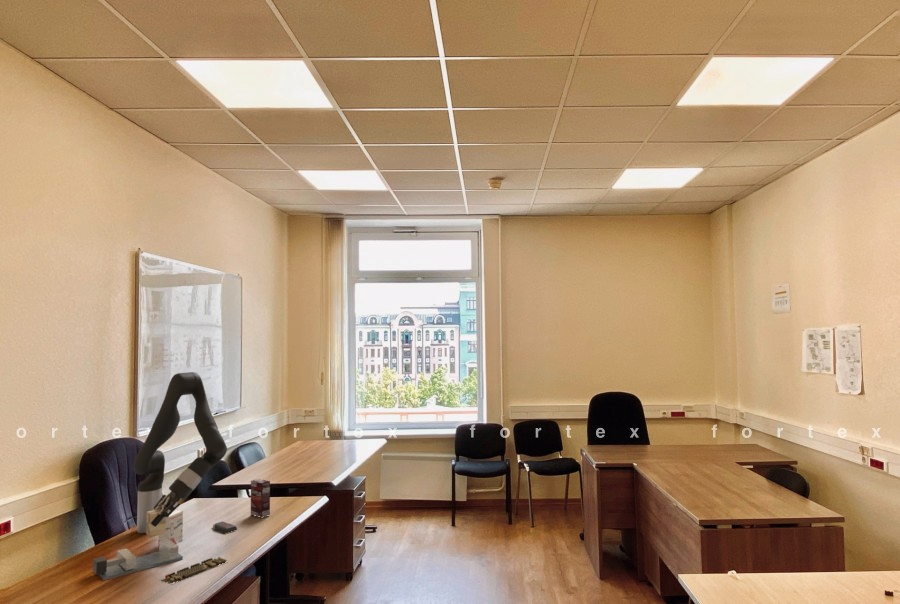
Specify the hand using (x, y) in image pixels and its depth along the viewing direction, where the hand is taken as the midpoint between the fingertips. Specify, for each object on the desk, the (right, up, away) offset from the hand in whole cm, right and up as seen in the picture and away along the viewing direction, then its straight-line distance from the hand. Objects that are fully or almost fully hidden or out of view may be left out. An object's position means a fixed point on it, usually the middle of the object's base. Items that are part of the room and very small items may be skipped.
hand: (150, 523), depth 199 cm
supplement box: (+22, -18, +53) cm, 60 cm away
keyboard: (+21, -13, -10) cm, 26 cm away
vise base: (-2, -14, -3) cm, 14 cm away
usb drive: (+12, -17, +34) cm, 40 cm away
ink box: (-2, -16, +18) cm, 24 cm away
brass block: (+1, -4, +1) cm, 5 cm away
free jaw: (-8, -12, -9) cm, 17 cm away
